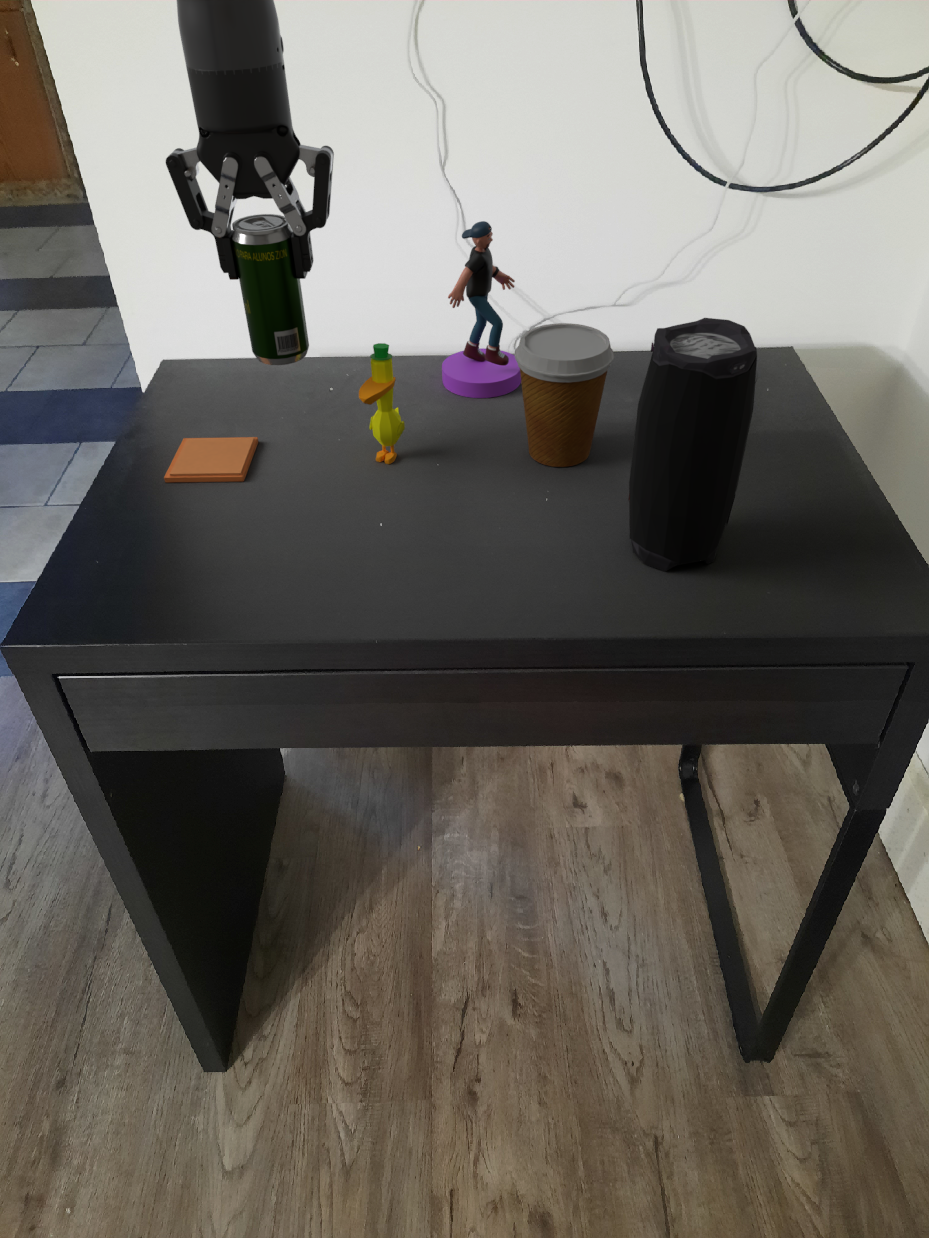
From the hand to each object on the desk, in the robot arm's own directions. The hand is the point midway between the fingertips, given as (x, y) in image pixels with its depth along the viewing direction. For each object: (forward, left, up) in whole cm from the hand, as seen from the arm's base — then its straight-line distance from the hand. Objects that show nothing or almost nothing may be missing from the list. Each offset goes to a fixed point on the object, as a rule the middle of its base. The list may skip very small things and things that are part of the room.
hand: (269, 275), depth 81 cm
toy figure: (+9, 0, -19) cm, 21 cm away
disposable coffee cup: (+27, +1, -19) cm, 33 cm away
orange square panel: (-9, 0, -19) cm, 21 cm away
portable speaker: (+36, -16, -19) cm, 44 cm away
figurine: (+19, +18, -19) cm, 33 cm away
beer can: (0, 0, -8) cm, 8 cm away
